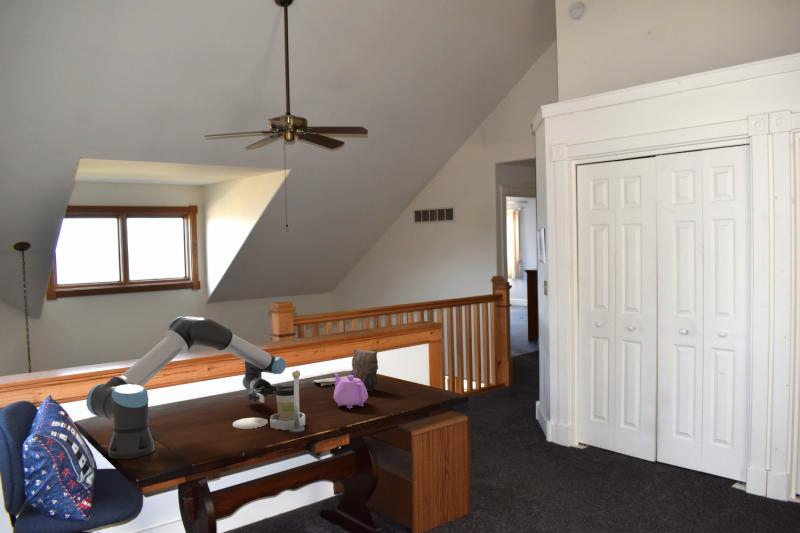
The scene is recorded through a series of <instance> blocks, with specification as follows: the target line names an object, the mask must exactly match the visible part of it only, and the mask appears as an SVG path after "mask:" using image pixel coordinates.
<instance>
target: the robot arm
mask: <svg viewBox="0 0 800 533" xmlns="http://www.w3.org/2000/svg"><path fill="white" fill-rule="evenodd" d="M164 336H165V337H164V338H163V339H162V340H161V341H159V342H158V343H157V344H156V345H155V346H154V347H153V348H151V349H150V350H149V351H148V352H146V354H144V355H143V356H142V357H141V358H139V359H138V361H136V362H135V363H134V364H133V365H132V366H130V367H129V368H128V369H126V370H125V372H123V373H122V374H121V375H114V376H112V378H110V379H109V380H108V381H107V382H106V383H100V384H96V385H94V386H93V387H92V388H91V389H90V390H89V391H88V393H87V395H86V406H87V409H88V411H89V412H90V413H91V414H92V415H95V416H96V417H97V418H103V419H107V420H110V421H112V436H111V440H110V442H109V446H108V450H107V451H108V452H107V453H108V454H107V455H108V457H109V458H111V459H115V460H130V459H131V460H132V459H137V458H141V457H145V456H148V455H150V454H151V453H153V452H154V451H155V441H154V439H153V437H152V433H151V431H150V426H149V424H150V423H149V396H148V393H149V392H148V390H147V388H146V387H145V385H146V384H147V383H148V382H149V381H151V380H152V379H153V378H154V377H155V376H156V375H158V373H160V372H161V371H162V370H163V369H164V368H165V367H166V366H168V364H169V363H171V362H172V361H173V360H174V359H176V357H177V356H178V355H179V354H186V353H187V352H188V351H189V350H191V348H193V347H195V346H199V347H208V348H212V349H215V350H217V351H225V352H227V353H229V354H231V355H233V356H235V357H237V358H239V359H241V360H243V361H244V376H243V378H242V387H244V388H245V389H246V390H247V391H249V393H248V400H249V401H251V400H253V402H257V401H258V402H260V403H265V398H266V397H268V396H269V395H275V392H276V390H277V388H279V387H283V386H284V385H282V384H281V385H280V384H277V385H272V384H271V383H270V382H269V381H268V380H266V379H264V378H262V376H263V375H262V373H267V374H273V375H281V374H283V373H284V372H285V370H286V367H287V364H286V360H285V359H284V358H283V357H280V356H275V355H273V354H271V353H269V352H267V351H265V350H264V349H262V348H260V347H258V346H256V345H254V344H252V343H250V342H249V341H247V340H245V339H243V338H241V337H239V336H237V335H236V334H234V332H233V331H232V329H230V328H228V327H227V326H225V325H223V324H221V323H219V322H217V321H216V320H213V319H211V318H208V317H202V316H201V317H200V316H191V315H181V316H178V317H175V318H174V319H172V321H170V323H169V324H168V328H167V331H165V334H164Z"/></svg>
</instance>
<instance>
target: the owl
mask: <svg viewBox="0 0 800 533" xmlns="http://www.w3.org/2000/svg"><path fill="white" fill-rule="evenodd" d="M353 352H354V354H353V357H352V358H351V368H352V369H351V373H350V375H353V376H354V378H359V379H360V380H361V381H362V382H363V384H364V385H365V387H366V389H367V391H370V392H374V391H373V390H375V391H376V386H378V375H377V373H378V369H379V364H378V363H379V362H378V361H379V360H378V351H374V350H372V349H367V350H365V349H364V350H361V349H354V350H353Z"/></svg>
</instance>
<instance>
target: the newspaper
mask: <svg viewBox="0 0 800 533" xmlns="http://www.w3.org/2000/svg"><path fill="white" fill-rule="evenodd" d="M347 376H348V375H343V376H339V377H340V380H341V379H344V378H347ZM315 382H317V383H320V384H319V385H320V386H321V387H326V386H325V385H328V386H333V385H332V384H334V385H335V383H336V377H329V378H321V379H314V380H312V382H311V383H312V384H314V383H315Z"/></svg>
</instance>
